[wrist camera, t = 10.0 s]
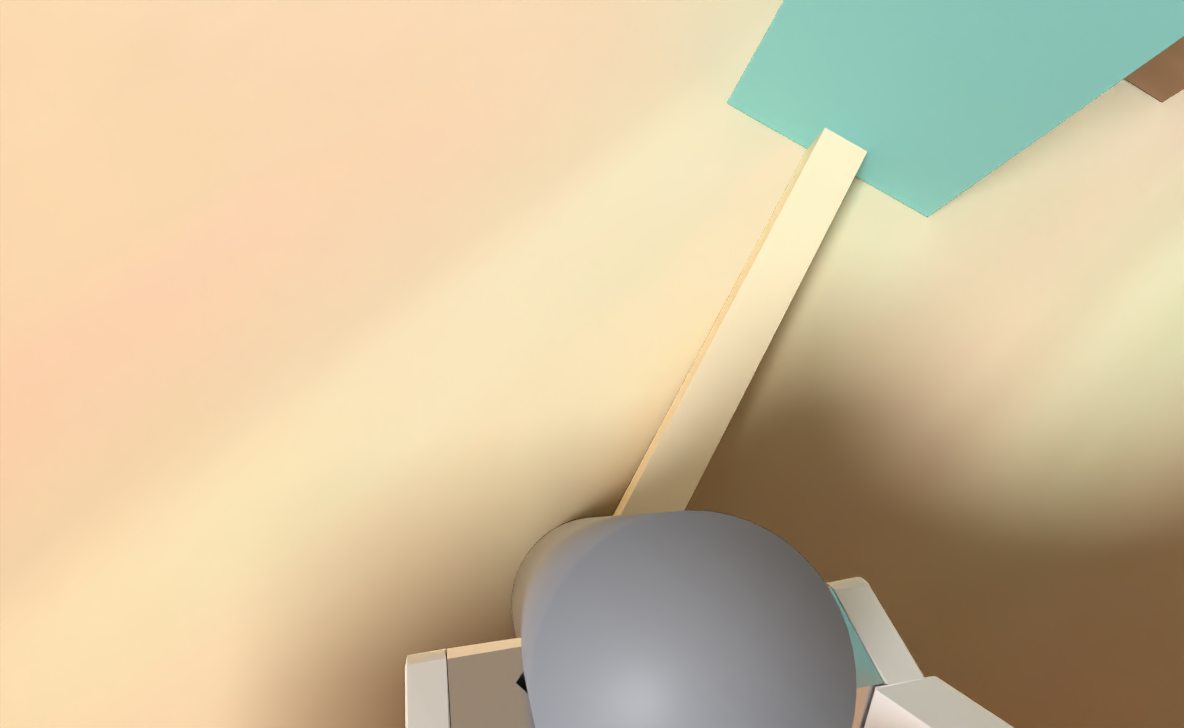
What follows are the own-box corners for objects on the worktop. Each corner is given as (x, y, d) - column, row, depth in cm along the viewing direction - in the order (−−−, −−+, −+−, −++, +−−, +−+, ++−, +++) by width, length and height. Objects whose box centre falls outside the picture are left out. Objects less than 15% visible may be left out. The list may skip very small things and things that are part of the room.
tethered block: (823, -68, 19) (1101, -565, 10) (1012, 40, 19) (1446, -364, 11) (436, 616, 15) (365, 736, 7) (672, 748, 16) (907, 1038, 7)
